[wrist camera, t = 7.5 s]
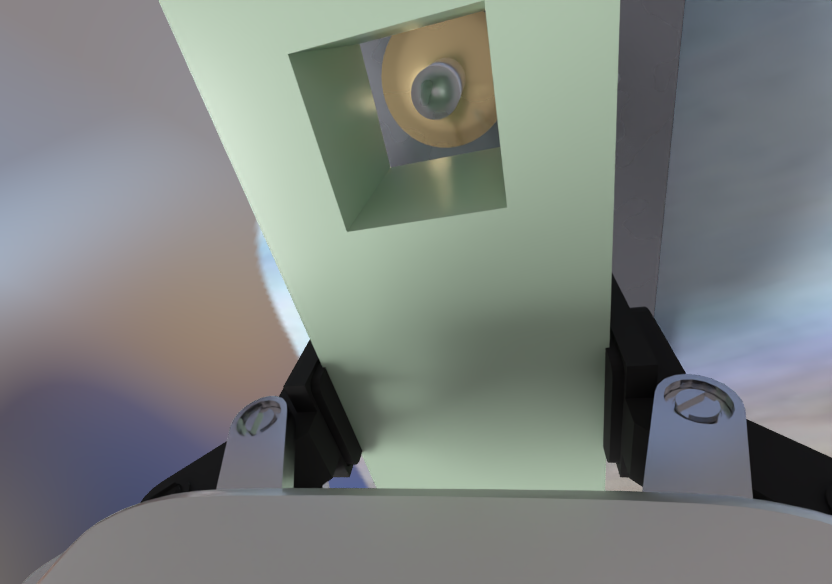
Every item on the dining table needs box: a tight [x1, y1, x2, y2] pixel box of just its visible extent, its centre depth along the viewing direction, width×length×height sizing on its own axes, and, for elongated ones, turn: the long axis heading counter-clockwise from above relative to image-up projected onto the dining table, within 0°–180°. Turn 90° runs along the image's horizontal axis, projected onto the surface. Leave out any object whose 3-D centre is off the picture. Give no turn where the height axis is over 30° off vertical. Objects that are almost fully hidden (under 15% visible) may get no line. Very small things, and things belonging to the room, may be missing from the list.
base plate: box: [360, 0, 685, 317], centre depth 15 cm, size 14×24×6 cm, turn 13°
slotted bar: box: [159, 0, 620, 491], centre depth 11 cm, size 6×18×4 cm, turn 13°
